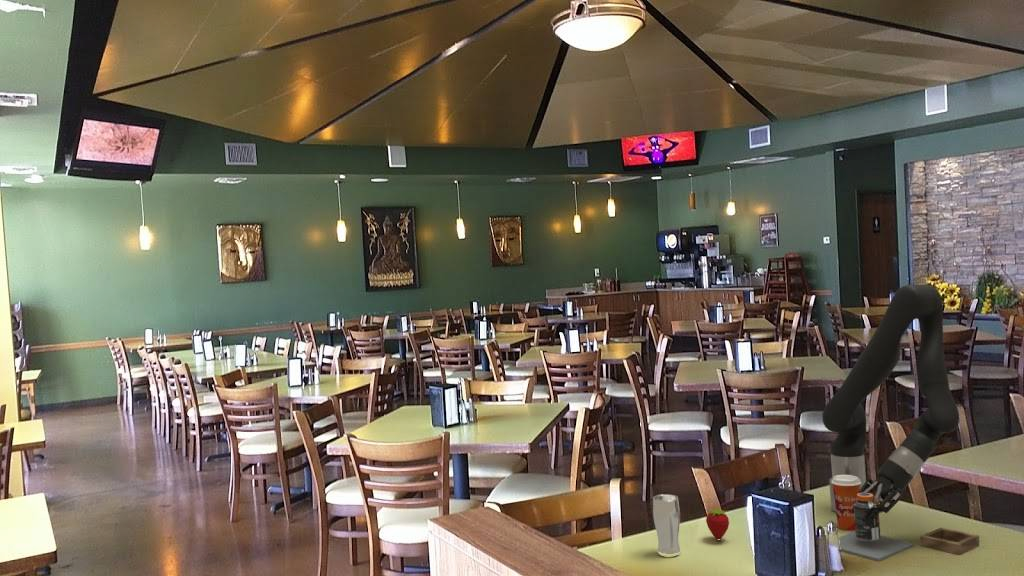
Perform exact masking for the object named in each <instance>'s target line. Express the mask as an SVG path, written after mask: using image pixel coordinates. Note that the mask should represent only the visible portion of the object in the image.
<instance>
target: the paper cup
mask: <svg viewBox="0 0 1024 576" xmlns="http://www.w3.org/2000/svg"><path fill="white" fill-rule="evenodd" d="M831 483H833V491H834V499H835V507H836V512H835V513H836V522H837V527H838V528H839V529H840V530H843V529H844V530H843V531H855V518H854V513H852V512H851V509H852V508H853V507H854V503H855V502H856V501H858V500H857V493H858V492H859V490H860V484H861V481H860V479H858V477H856V476H853V475H836V476H834V477H833V480H832V481H831Z"/></svg>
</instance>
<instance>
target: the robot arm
mask: <svg viewBox="0 0 1024 576" xmlns="http://www.w3.org/2000/svg"><path fill="white" fill-rule="evenodd" d="M914 320H917V321H918V323H919V329H920V342H919V348H918V353H917V357H916V362H915V363H916V364H915V365H916V366H915V367H916V374H917V380H918V386H919V391H920V393H921V395H922V396H923V397H924V398H925V399H926V403H927V407H928V408H927V409H925V411H924V412H923V413H921V415H920V416H919V418H918V419H917V421H916V422H915V424H914V426H913V427H912V430H911V432H910V433H909V434H908V435H907V436H906V437H905V439H903V441H902V442H901V443H900V445H899V446H897V448H896V449H894V450H893V452H891V454H890V455H889V456H888V458H886V460H885V461H884V463H883V464H882V465H881V466H880V467H879V469H877V474H878V478H876V479H874V480H873V479H871V477H868V478H867V477H866V464H865V463H866V461H865V447H866V444H867V417H866V411H865V409H864V406H863V404H861V403H862V402H863V401H864V400H865V399H866V398H867V397H868V396H869V395H870V394H872V393H873V392H874V391H875V390H877V389H878V388H879V387H881V385H882V384H883V383H884V382H885V381H886V380H887V379H888V378H889V377H890V375H891V373H892V372H893V371H894V369H895V368H896V366H897V365H898V362H899V360H900V355H901V341H902V337H903V335H904V333H905V332H906V331H907V329H908V327H909V326H910V325H911V323H912V322H914ZM943 322H944V318H943V300H942V296H941V293H940V291H939V290H938V289H937V287H935V286H933V285H930V284H906V285H902V286H901V287H900V288H898V289H897V290H896V291H895V293H894V294H893V296H892V298H891V300H890V302H889V304H888V306H887V309H885V313H884V315H883V317H882V319H881V321H880V323H879V325H878V326H877V327H876V330H875V331H874V332H873V335H872V336H871V338H870V340H869V341H868V343H867V344H866V346H865V347H864V349H863V350H862V351H861V353H860V355H859V357H858V358H857V360H856V362H855V364H854V365H853V367H852V368H851V370H850V372H849V373H848V375H847V376H846V378H845V380H844V381H843V383H842V385H841V386H840V387H839V388H838V390H837V391H836V392H835V394H834V395H833V396H832V397H831V399H830V400H828V401H827V403H826V405H825V407H824V408H823V411H822V423H823V426H824V427H825V428H826V429H827V430H828V431H830V432H832V433H837V436H836V438H835V439H834V440H833V441H832V442H831V443H830V447H829V448H830V463H831V477H830V478H829V495H830V496H829V497H830V498H829V499H830V510H831V511H834V513H836V507H835V499H834V491H833V483H831V481H832V480H833V477H834V476H836V475H853V476H856V477H858V479H860V481H861V484H860V490H859V492H858V493H870V494H873V495H874V505H873V507H874V508H873V507H871V508H870V509H869V511H868V512H867V513H866V514H865V516H864V517H863V518H864V519H865V520H866V521H867V522H868V523H872V521H873V520H874V519H875V518H876V517H877V515H878V514H879V515H880V514H883V513H885V514H888V513H889V511H891V510H892V509H893V507H894V506H895V505H897V503H898V502H900V500H901V499H902V498H903V495H901V493H899V492H898V491H904V490H905V489H906V488H907V486H908V485H910V483H911V482H912V480H913V479H914V478H915V477H916V476H917V475H918V473H919V472H920V471H921V469H922V467H923V466H924V464H925V463H926V462H927V460H928V459H929V458H930V457H931V455H932V454H933V453H934V451H936V443H937V441H938V440H939V439H940V437H941V436H942V435H944V434H949V433H952V432H954V431H956V430H957V429H958V427H959V424H960V413H959V409H958V406H957V404H956V401H955V398H954V396H953V394H952V391H951V389H950V383H949V378H948V373H947V367H946V361H945V352H944V326H943V325H944V324H943ZM858 493H857V494H858ZM851 512H852V513H854V507H853V508H852V509H851Z"/></svg>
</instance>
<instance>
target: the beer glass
mask: <svg viewBox="0 0 1024 576" xmlns="http://www.w3.org/2000/svg"><path fill="white" fill-rule="evenodd" d="M679 503H680V502H679V497H678V495H674V494H667V493H666V494H657V495H655V496H653V497H652V514H653V522H654V526H655V531H656V535H657V541H658V545H657V546H658V547H657V552H658V551H659V552H661V553H666V554H674V553H678V552H680V551H681V548H680V543H679V542H680V541H679V536H680V535H679V533H680V525H681V524H680V523H681V512H680V511H681V509H680V504H679Z"/></svg>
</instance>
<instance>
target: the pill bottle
mask: <svg viewBox="0 0 1024 576" xmlns="http://www.w3.org/2000/svg"><path fill="white" fill-rule="evenodd" d="M857 500H858V501H856V502H855V503H854V518H855V530H854V531H856V537H857V538H859V539H862V540H878V539H879V538H880V535H881V526H880V513H879V514H878V515H877V517H876V518H875V519H874V520H873V521H872V523H868V522H867V521H866V520H865V519H864V518H863V517H864V516H865V514H866V513H867V512H868V511H869V509H870V508H871V507H873V505H874V502H875V501H874V495H873V494H870V493H858V494H857ZM873 508H874V507H873Z"/></svg>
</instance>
